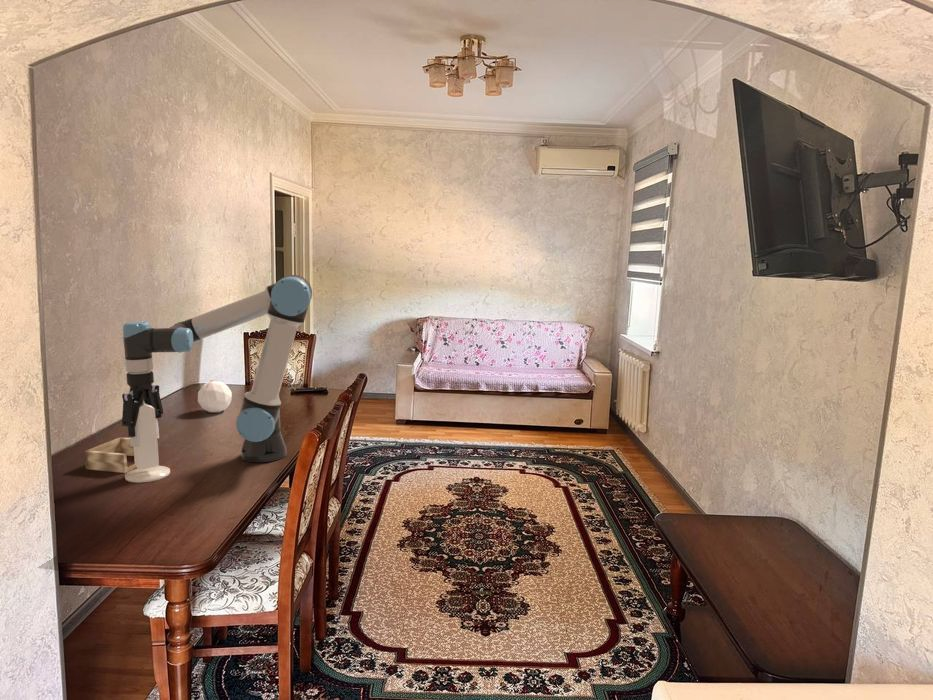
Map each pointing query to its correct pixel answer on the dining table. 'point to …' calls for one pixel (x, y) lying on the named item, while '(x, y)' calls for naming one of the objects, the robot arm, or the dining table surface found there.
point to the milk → (146, 438)
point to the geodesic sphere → (214, 396)
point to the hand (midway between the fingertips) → (145, 441)
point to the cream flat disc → (147, 474)
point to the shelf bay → (110, 456)
